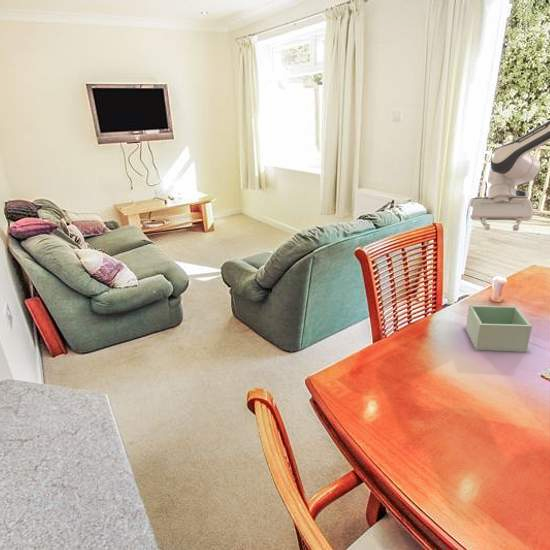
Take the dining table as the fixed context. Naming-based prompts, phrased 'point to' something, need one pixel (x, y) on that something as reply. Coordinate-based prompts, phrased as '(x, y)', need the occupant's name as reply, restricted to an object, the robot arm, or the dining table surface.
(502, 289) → the milkshake
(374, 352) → the dining table surface
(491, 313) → the sage green open box
